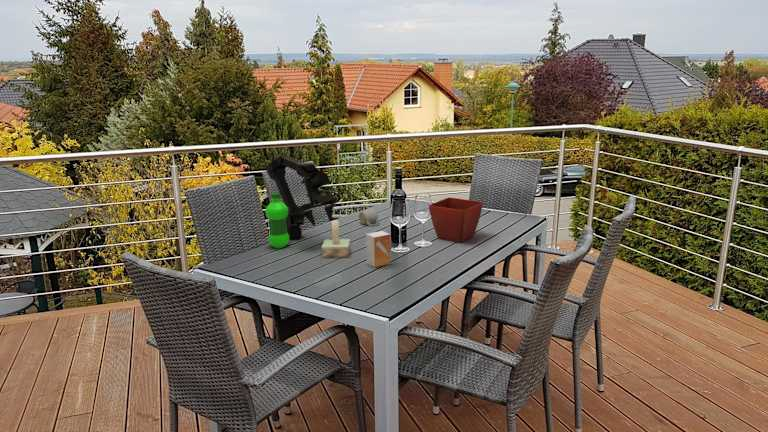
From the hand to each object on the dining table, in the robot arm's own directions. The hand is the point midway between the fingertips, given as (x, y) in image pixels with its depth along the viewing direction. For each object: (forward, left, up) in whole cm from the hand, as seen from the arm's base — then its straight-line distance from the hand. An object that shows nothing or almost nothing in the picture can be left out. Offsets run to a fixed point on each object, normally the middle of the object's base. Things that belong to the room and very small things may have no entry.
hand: (322, 223), depth 249 cm
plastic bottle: (-21, +2, -12) cm, 24 cm away
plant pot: (+62, +11, -12) cm, 64 cm away
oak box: (+7, -10, -11) cm, 16 cm away
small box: (+26, -24, -12) cm, 37 cm away
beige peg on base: (+7, -10, -7) cm, 14 cm away
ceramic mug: (+20, +38, -12) cm, 45 cm away
